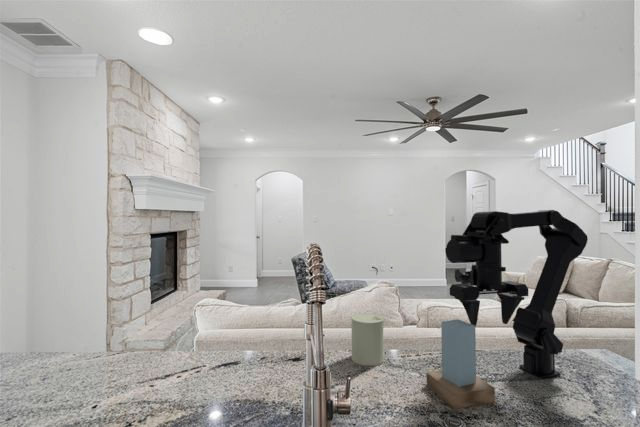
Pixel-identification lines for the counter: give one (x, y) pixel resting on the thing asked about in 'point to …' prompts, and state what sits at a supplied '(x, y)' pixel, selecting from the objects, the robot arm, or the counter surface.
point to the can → (367, 339)
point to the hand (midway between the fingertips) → (489, 325)
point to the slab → (461, 391)
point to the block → (458, 352)
